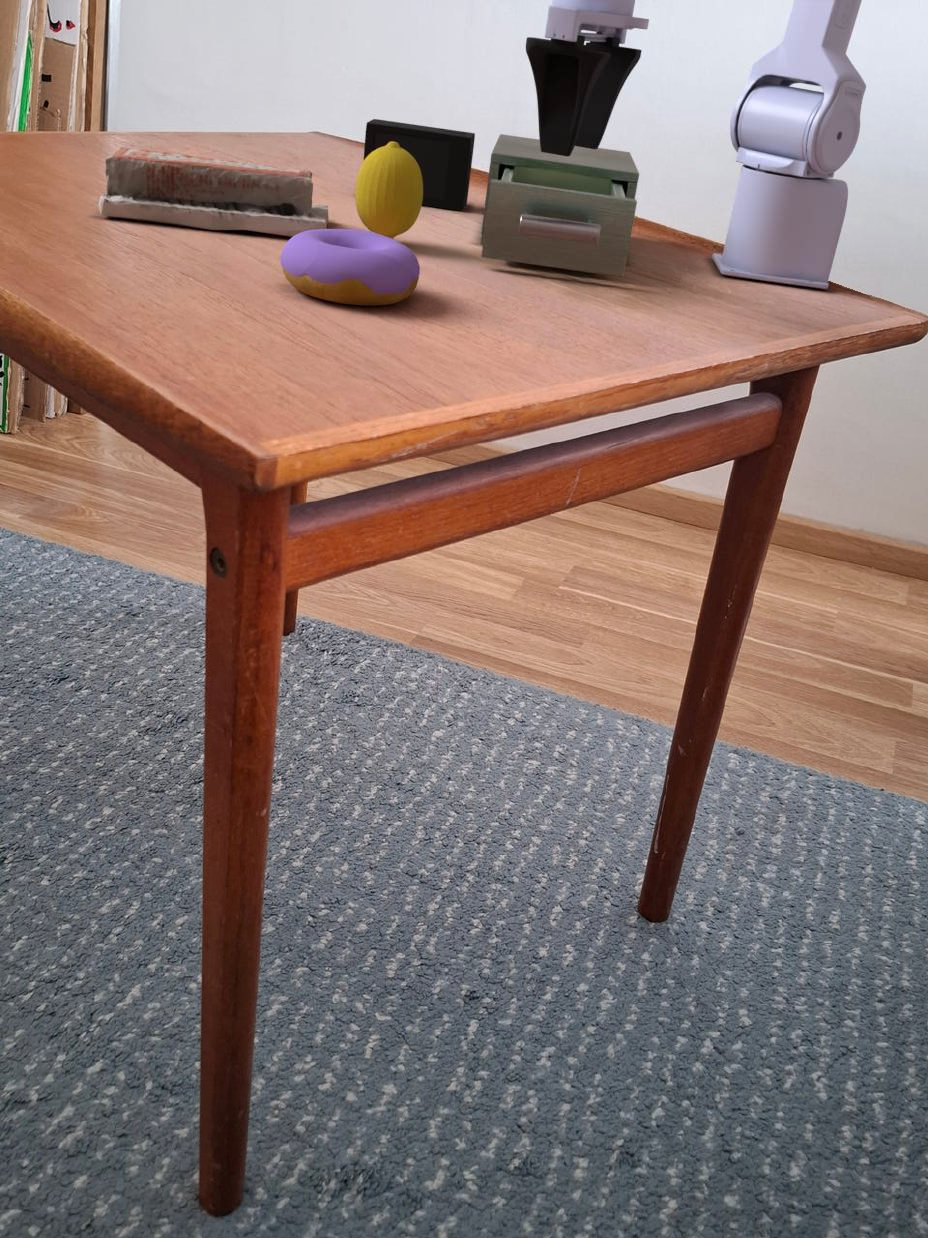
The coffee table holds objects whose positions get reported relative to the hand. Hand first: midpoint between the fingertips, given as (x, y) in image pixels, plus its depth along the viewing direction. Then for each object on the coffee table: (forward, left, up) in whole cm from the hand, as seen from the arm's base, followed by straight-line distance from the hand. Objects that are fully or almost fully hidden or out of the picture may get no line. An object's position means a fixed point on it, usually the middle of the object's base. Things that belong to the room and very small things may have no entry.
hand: (570, 150), depth 88 cm
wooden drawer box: (0, -21, -10) cm, 23 cm away
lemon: (+14, -8, -10) cm, 19 cm away
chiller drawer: (0, -8, -9) cm, 12 cm away
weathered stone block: (+28, -8, -10) cm, 31 cm away
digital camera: (+14, -32, -10) cm, 37 cm away
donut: (+14, +11, -10) cm, 20 cm away
